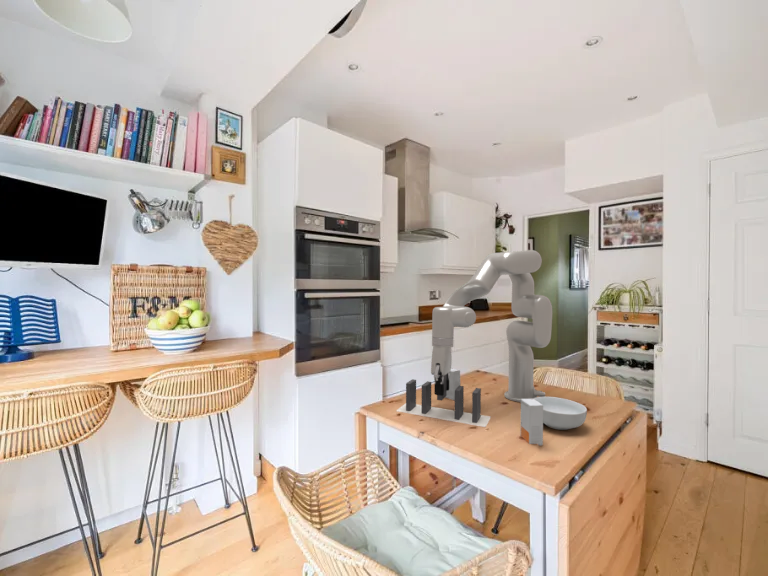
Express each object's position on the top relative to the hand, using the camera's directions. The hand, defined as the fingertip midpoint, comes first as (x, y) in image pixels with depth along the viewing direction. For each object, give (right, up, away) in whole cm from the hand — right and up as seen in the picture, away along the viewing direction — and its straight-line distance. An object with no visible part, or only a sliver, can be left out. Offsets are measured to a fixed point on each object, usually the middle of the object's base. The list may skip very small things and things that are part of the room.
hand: (441, 391), depth 128 cm
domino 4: (+6, -8, -2) cm, 10 cm away
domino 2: (-5, -8, +3) cm, 10 cm away
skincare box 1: (+7, -8, +18) cm, 21 cm away
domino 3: (0, -2, 0) cm, 2 cm away
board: (0, -8, 0) cm, 8 cm away
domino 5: (+11, -8, -5) cm, 14 cm away
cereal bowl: (+37, -9, -8) cm, 39 cm away
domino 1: (-11, -8, +6) cm, 14 cm away
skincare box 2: (+24, -9, -20) cm, 32 cm away
